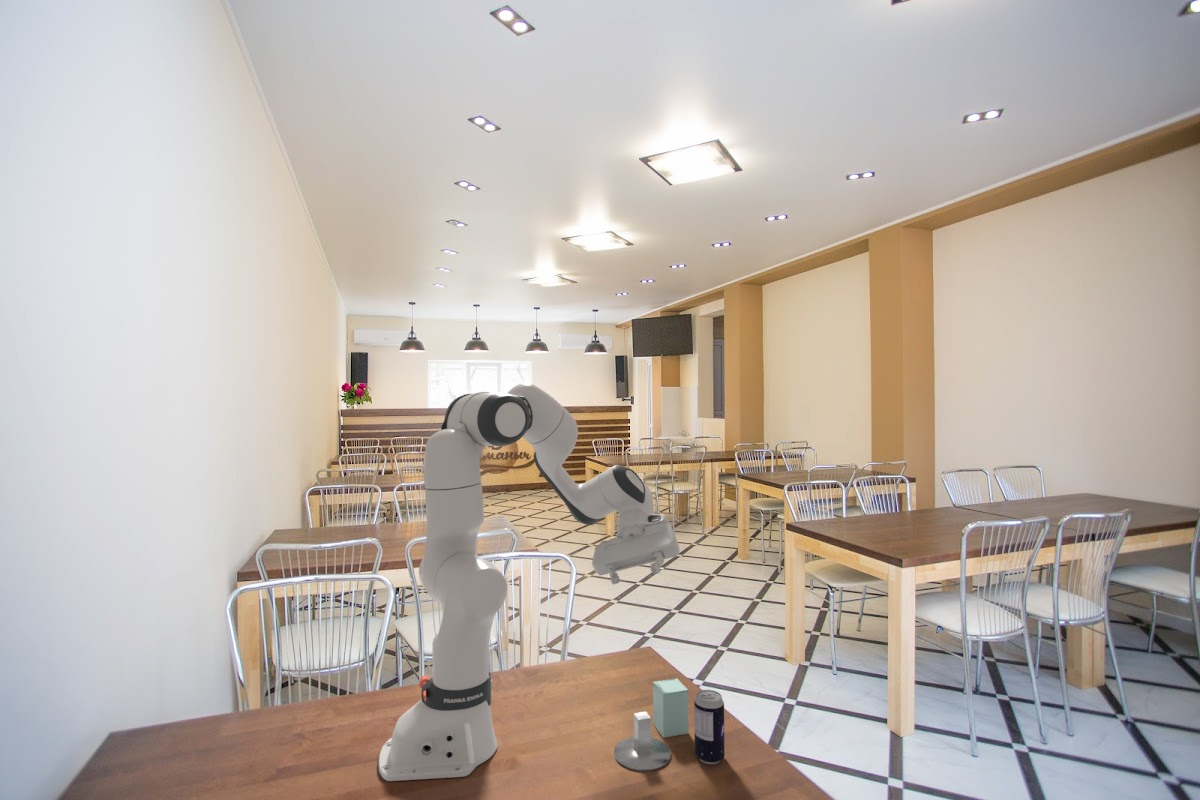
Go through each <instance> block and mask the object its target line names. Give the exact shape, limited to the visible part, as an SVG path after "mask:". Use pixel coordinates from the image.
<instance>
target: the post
mask: <svg viewBox="0 0 1200 800" xmlns="http://www.w3.org/2000/svg"><path fill="white" fill-rule="evenodd" d="M651 722H652V717H651V716H650V715H649V713H648V712H647V711H639V712H634V713H633V736H631V737H627V738H623V739H622V740H620V741H619V742H618V743H617V744H616V745H615V747H614V752H613V754H614V758H615V760H616V761H617V762H618V764H619V765H620V766H623V767H624V768H626V769H629V770H631V771H636V772H651V771H656V770H660V769H661V768H663V767H665V766H666V765H668V764H669V762H670V760H671V755H672V754H671V749H670V748H669V746H668V745H667V744H666V742H664V741H662V740H660V739H658V738H656V737H652V723H651Z"/></svg>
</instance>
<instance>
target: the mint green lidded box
mask: <svg viewBox="0 0 1200 800" xmlns="http://www.w3.org/2000/svg"><path fill="white" fill-rule="evenodd" d="M652 684H653V685H652V689H653V690H652V691H653V693H652V694H653V695H652V697H653V698H652V700H653V702H652V703H653V704H652V705H653V706H652V707H653V708H652V712H653V713H652V714H653V717H652V718H653V719H652V720H653V721H652V722H653V723H652V724H653V726H654V727H655V728H656V730H657V731H658V733H659V734H660V735H661V736H662V738H663V739H664V738H670V737H675V736H682V735H687V734H689V689H688V688H687V687H686V686H685V685H684V684H683V683H682V682H681V681H680V680H679V679H678V678H670V679H663V680H655V681H653V682H652Z"/></svg>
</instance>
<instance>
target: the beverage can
mask: <svg viewBox="0 0 1200 800" xmlns="http://www.w3.org/2000/svg"><path fill="white" fill-rule="evenodd" d="M724 702H725V701H724V700H723V696H722V694H721V693H719V692H718V691H716V690H713V689H702V690H699V691H697V692H696V697H695V698H694V703H693V704H694V710H693V711H694V712H693V713H694V719H693V720H694V754H695V756H696V757H697V758H698V760H699V761H700V762H701V763H703V764H706V765H717V764H719V763H720V762H721V761H722V760H723V759H724V758H725V756H726V755H725V753H726V752H725V703H724Z"/></svg>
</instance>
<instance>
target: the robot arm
mask: <svg viewBox="0 0 1200 800" xmlns="http://www.w3.org/2000/svg"><path fill="white" fill-rule="evenodd" d="M440 429H441V430H439V431H436V432H435V433H433V434H431V436H430V437H429V438H428V439H427V442H426V444H425V449H424V450H425V451H424V460H423V462H424V463H423V485H424V487H423V488H424V499H425V511H426V512H425V513H426V538H425V547H424V555H423V558H422V560H421V561H420V564H419V568H418V577H419V581H420V583H421V585H422V586H423V588H424V590H425V592H426V593H427V594H428V595H429V596H430V597H432V598H433V599H434V600H436V601H438V602H439V603H440V605H441V609H442V615H441V622H440V625H439V629H438V633H436V635H435V636H434V638H433V639H432V640H433V641H432V642H431V643H432V645H431V646H432V649H431V650H432V651H431V652H432V656H431V657H432V663H431V667H432V671H431V672H432V674H431V676H432V677H431V678H430V677H429V675H422V676H421V677H420V678H419V680H418V681H419V683H418V684H419V688H420V689H421V699H420V700H418V701H417V702H416V703H415V704H414V705H412V707H410V708H409V709H408V710H407V711H405V712H404V713H403V714H401V715H400V716H399V718H398V720H397V721H396V723H395V726H394V729H393V731H392V737H390V738H389V739H388V740H387V741H386V742H385V743H384V744H383V745H382V747H381V750H380V752H379V757H378V772H379V775H380V776H381V778H382V779H383V780H385V781H386V782H399V781H411V780H412V781H414V780H430V779H446V778H463V777H464V778H465V777H467V776H469V775H470V774H471V773H473V771H474V770H475V769H476V768H477V767H478V766H479V765H481V764H482V763H485V762H486V761H488V760H489V759H490V758H491V757H492V756H493V755H494V754H495V753H496V750H497V748H498V740H497V737H496V734H495V730H494V725H493V717H492V710H491V704H492V698H493V683H492V682H493V681H492V676H491V672H490V638H491V637H490V636H491V631H492V626H493V622H494V618H495V616H496V614H497V613H498V612H499V610H500V609H501V608H502V607H503V605H504V604H505V601H506V598H507V596H508V583H507V581H506V578H505V576H504V575H503V574H502V572H501V571H500V570H499V569H498V567H496V565H494V564H493V563H492V562H490V561H488V560H487V559H485V558H482V557H480V556H478V552H477V539H478V534H479V530H480V527H481V526H482V525H483V524H484V520H485V511H484V499H483V498H484V497H483V485H482V476H481V475H482V474H481V468H480V465H481V463H480V462H481V458H482V453H483V451H484V448H485V447H506V446H509V445H512V444H515V443H516V442H518V441H519V440H520V439H521V438H523V439H524V440H525V441H526V442H528V444H530V445H531V446H532V448H533V449H534V452H533V462H534V464H535V466H536V469H537V470H538V471H539V472H540V473H539V474H541V475H542V477H543V478H544V479H545V480H546V482H547V483H548V484H549V486H551V488H552V490H553V491H554V492H555V493H556V494H557V496H558V497H559V498H560V499H561V501H562V502H563V503H564V504H565V506H566V508H567V509H568V511H569V512H570V514H571V516H572V517H573V518H574V520H576V521H577V522H578V523H581V524H583V525H587V526H594V525H595V524H597V523H598V522H600V521H601V520H603V519H604V518H605V517H607V516H608V515H610V514H612V513H614V512H616V511H617V512H618V520H617V528H616V529H617V530H616V531H617V532H616V537H614V538H609V539H607V540H603V541H600V543H599V544H597V545H596V546H595V547H594V553H593V557H592V561H591V565H592V568H593V570H594V572H595V573H596V574H597V575H599V576H604V575H608V574H609V580H610V582H611V584H612V585H617V584H619V583H620V576H619V575H618V572H620V571H624V570H628V569H631V568H636V567H640V566H643V565H647V564H650V570H651V571H650V572H651V573H652V575H658V574H660V572H661V569H660V568H661V567H662V566H663V564H664V563H665V560H666V559H667V560H668V559H672V558H674V557H677V556H678V555H679V553H680V550H681V549H680V545H679V541H678V538H677V537H676V534H675V532H674V530H673V527H672V525H671V522H670V520H669V519H668V517H667V516H666V515H665V514H663V513H661V514H655V509H654V508H655V507H654V500H653V495H652V492H651V489H650V488H649V487H650V486H648V485H647V484H646V483H645V482H644V481H643V480H642V479H641V477H640V476H639V475H638V474H637V473H636V472H635V471H634V470H633V469H631V468H629V467H628V466H624V465H620V464H615V465H613V466H611V467H609V468H608V469H606V470H604V471H602V472H601V473H599V474H598V475H596V476H594V477H593V478H591V479H589V480H588V481H586V482H583V483H576V482H575V480H574V479H573V478H572V477H571V476H570V474H569V473H568V472H567V471H566V469H565V468H564V466H563V464H564V463H565V462H566V460H567V459H568V458H569V456H570V455H571V454H572V452H573V450H574V449H575V446H576V444H577V440H578V436H579V427H578V423H577V422H576V419H575V418H574V416H573V415H572V414H571V413H570V412H569V411H568V410H567V409H566V407H564V406H563V405H562V404H561V403H559V402H558V400H556V399H555V398H554V397H553V396H551V395H550V394H549V393H547V392H546V391H544V390H543V389H541V387H538V386H537V385H535V384H533V383H530V382H522V383H518V384H517V385H515V386H513V387H512V388H511V389H509V391H508V392H507V393H506V392H497V393H496V392H495V393H494V392H488V391H481V392H474V393H466V394H463V395H460V396H458V397H456V398H455V399H454V400H453V401H451V403H449V405H448V407H447V408H446V411H445V415H444V419H443V422H442V425H441V427H440Z"/></svg>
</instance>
